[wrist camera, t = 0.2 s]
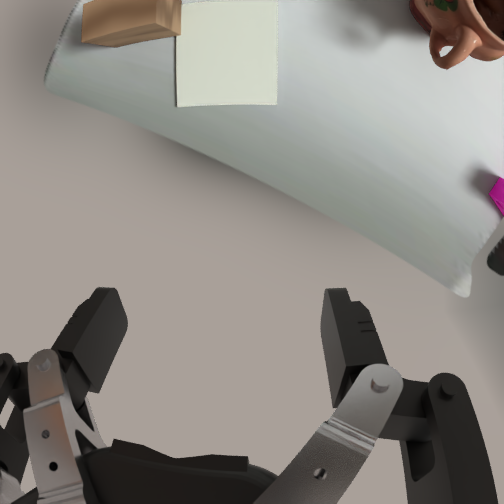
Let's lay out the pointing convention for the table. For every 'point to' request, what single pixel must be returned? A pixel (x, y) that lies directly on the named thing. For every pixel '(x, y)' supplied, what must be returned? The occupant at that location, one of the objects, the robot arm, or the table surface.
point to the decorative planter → (462, 28)
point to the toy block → (498, 194)
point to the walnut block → (129, 21)
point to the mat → (227, 53)
